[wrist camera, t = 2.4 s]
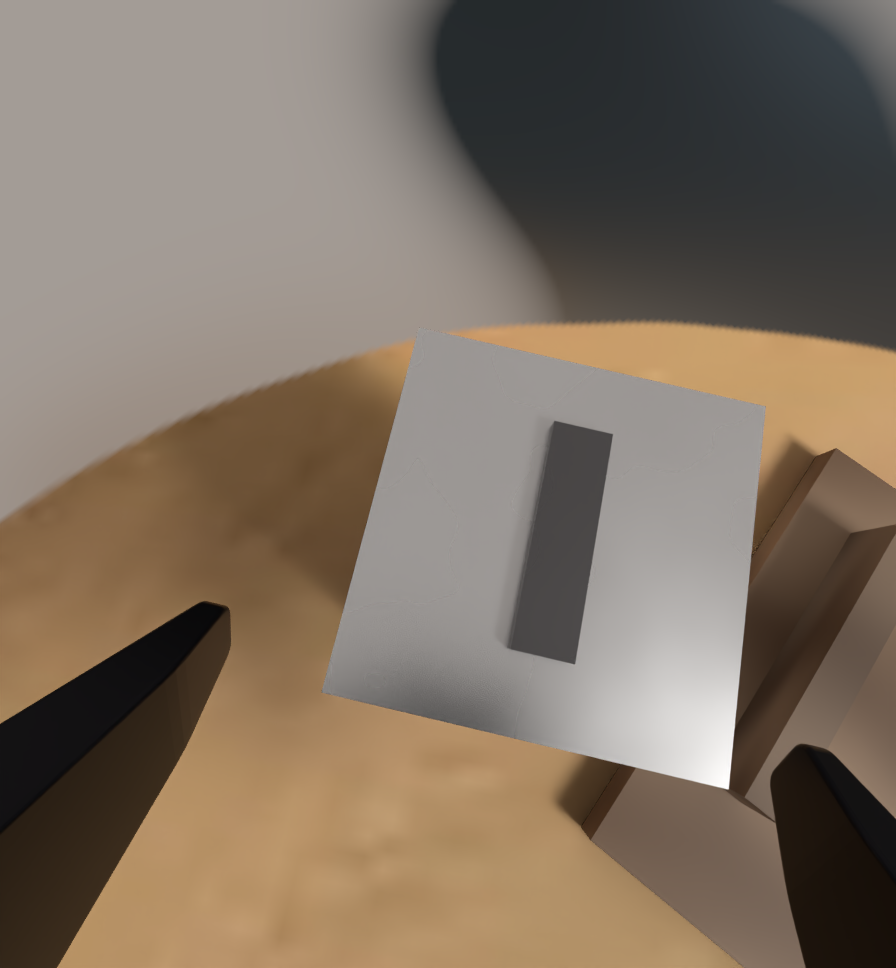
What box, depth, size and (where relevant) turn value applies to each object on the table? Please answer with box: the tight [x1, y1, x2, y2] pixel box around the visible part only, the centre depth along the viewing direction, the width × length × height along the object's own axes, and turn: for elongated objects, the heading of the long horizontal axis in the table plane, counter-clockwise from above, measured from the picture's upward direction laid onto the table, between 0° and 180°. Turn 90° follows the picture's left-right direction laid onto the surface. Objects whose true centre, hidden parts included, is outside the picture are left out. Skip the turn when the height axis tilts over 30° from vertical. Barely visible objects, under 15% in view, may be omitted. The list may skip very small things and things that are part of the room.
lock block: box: [322, 328, 766, 790], centre depth 13 cm, size 5×5×12 cm
